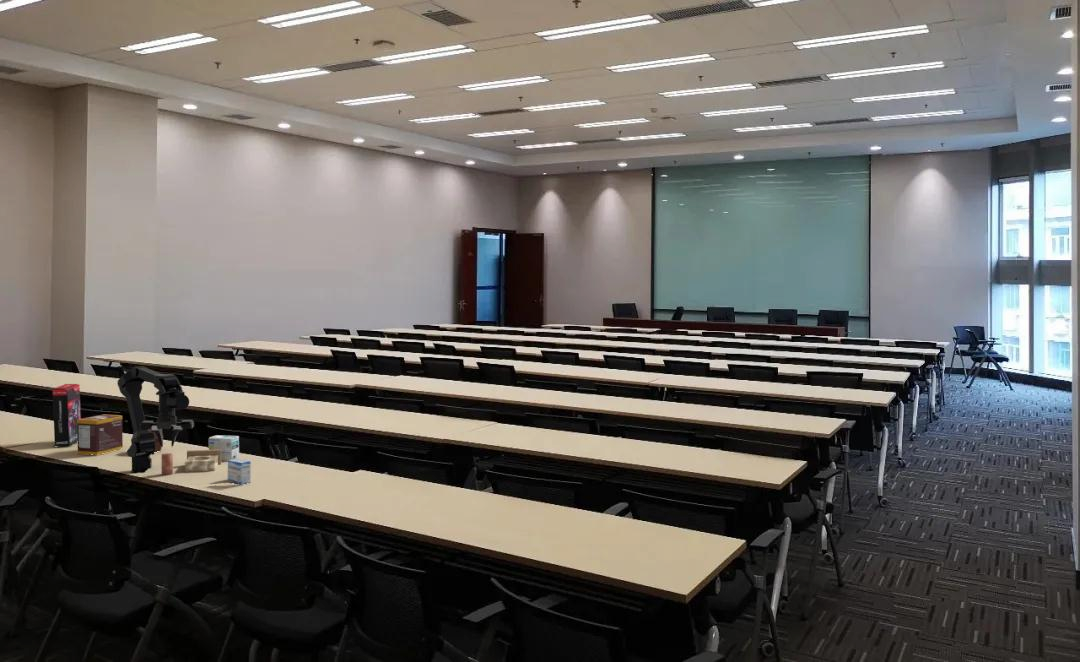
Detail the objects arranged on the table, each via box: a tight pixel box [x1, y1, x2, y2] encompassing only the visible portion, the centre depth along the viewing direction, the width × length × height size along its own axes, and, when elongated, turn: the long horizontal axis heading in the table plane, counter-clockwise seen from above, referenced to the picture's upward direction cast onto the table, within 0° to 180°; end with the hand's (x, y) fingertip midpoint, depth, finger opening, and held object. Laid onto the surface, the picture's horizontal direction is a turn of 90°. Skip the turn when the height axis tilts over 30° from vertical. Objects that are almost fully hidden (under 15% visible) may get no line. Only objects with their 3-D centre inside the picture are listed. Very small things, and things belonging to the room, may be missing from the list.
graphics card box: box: [52, 383, 82, 447], centre depth 372 cm, size 17×7×27 cm, turn 13°
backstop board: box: [186, 449, 222, 466], centre depth 323 cm, size 13×20×7 cm, turn 15°
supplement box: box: [77, 413, 124, 456], centre depth 357 cm, size 10×15×16 cm
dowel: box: [161, 452, 174, 476], centre depth 314 cm, size 4×4×9 cm
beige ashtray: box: [184, 455, 218, 473], centre depth 325 cm, size 11×11×4 cm
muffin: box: [148, 428, 165, 452], centre depth 359 cm, size 12×11×10 cm
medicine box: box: [227, 458, 252, 486], centre depth 307 cm, size 8×4×9 cm, turn 62°
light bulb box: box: [208, 434, 240, 462], centre depth 343 cm, size 11×7×11 cm, turn 84°
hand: (167, 446), depth 314 cm, fingers open, 3 cm apart
